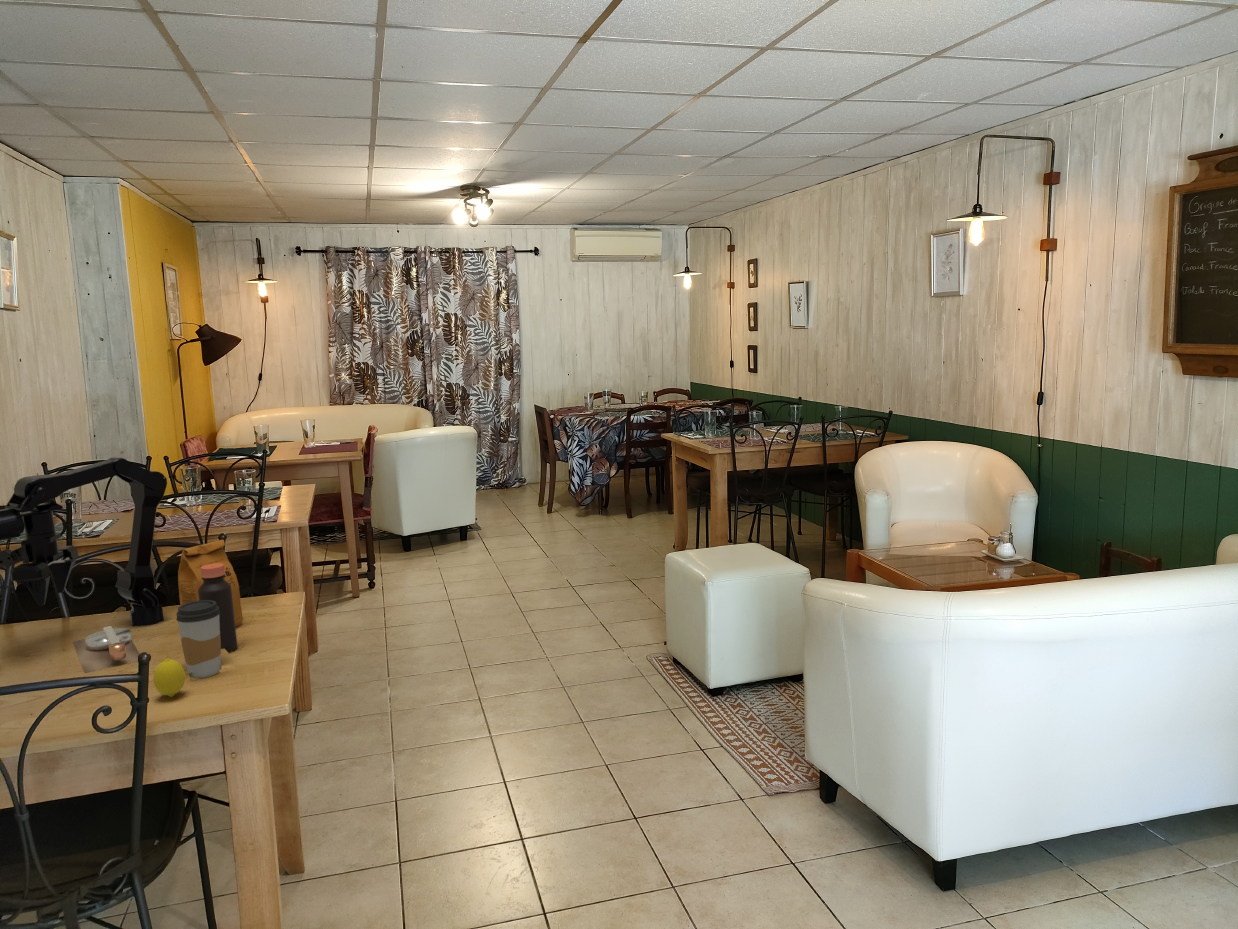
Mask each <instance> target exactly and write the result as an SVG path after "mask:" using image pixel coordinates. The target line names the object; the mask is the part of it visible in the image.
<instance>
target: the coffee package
mask: <svg viewBox="0 0 1238 929" xmlns="http://www.w3.org/2000/svg"><path fill="white" fill-rule="evenodd" d="M225 544H226V543H225V540H224V539H220V540H216V541H211V542H208V543H204V544H199V545H195V546H191V547H188V548H184V549H182V552H181V555H180V562H179V566H178V571H177V582H178V583H177V584H178V592H179V593H178V594H179V604H180V605H179V607H180V606H181V605H183V604H186V603H190V602H194V601H199V595H198V589H199V588H200V586H201V585H202V584H203V580H202V577H201V570H200V567H202V566H204V565H207V564H213V563H222V564H224V568H225V576H224V580H225V581H227V582H228V583H229V584H230V585H231V590H232V600H233V609H234V619H235V628H236V627H239V626H241V625H242V623H243V621H244V616H243V610H242V609H243V608H242V604H241V592H240V584H239V581H238V578H237V574H236V572H235V571H234V567H233V565H232V564H231V561H229V558H228V555H227V553H226V551H225V549H224V547H225Z"/></svg>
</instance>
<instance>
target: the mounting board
mask: <svg viewBox="0 0 1238 929" xmlns="http://www.w3.org/2000/svg"><path fill="white" fill-rule="evenodd" d="M71 642H72V644H73V647H74V649H75V651H76V654H77V657H78V660H79V663H80V664H81V668H82V670H83V672H84V674H86V673H88V674H89V673H92V672H96V671H101V670H105V669H110V668H115V667H119V666H122V665H127V664H131V663H136V662H139V661H138V655H139V654H140V652H139V650H138V648H137V647H136V645H135V643H134V641H133V639H131V641H130V642H129V643H127V644H125V650H126V658H124V659H121V660H116V661H112V660H110V652H109V649H107V650H88V649H87V648H86V641H85V638H82V639H78V640H77V639H76V640H74V641H71ZM140 655H141V654H140Z"/></svg>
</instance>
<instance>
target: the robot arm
mask: <svg viewBox="0 0 1238 929" xmlns="http://www.w3.org/2000/svg"><path fill="white" fill-rule="evenodd" d="M115 476H116V477H118V478H119V479H120V480H121V481H124V482H126V483H127V484H129V486H130V495H131V498H132V501H133V504H134V512H133V522H132V528H131V535H130V536H131V537H130V547H129V553H128V563H127V565H126V566H125V568H124V570H121V569H118V570H117V577H116V578H117V580H116V583H115V585H114V586H115V588H117V592H118V594H119V595H120V596H121V597H122V598H124V599H125V600H126V601H127V603H128V604H129V605H130V604H131V610H130V611H129V617H130V625H131V626H132V627H143V626H144V627H146V626H151V625H155V624H158V623H161V622H163V621H164V618H165V617H164V611H163V604H165V603H166V600H167V599H166V598H167V594H165V593H163V591H160V590H159V589H157V588H156V584H155V583H156V582H155V575H154V572H153V568H152V566H151V559H152V550H153V544H154V541H153V540H154V534H155V525H156V515H157V509H158V506H159V505H160V503H161V502H162V500H163V498H164V496H165V493H166V491H167V490H166V489H167V487H168V479H167V477H166V476H165V475H164V473H162V472H161V471H156V470H149V469H147V468H144V467H143V466H139V465H137V464H135V463H133V462H131V461H129V460H127V459H126V458H122V457H116V456H115V457H114V456H113V457H110V458H108V459H105V460H103V461H99V462H95V463H92V464H88V465H85V466H81V467H77V468H74V469H70V470H66V471H62V472H59V473H53V474H51V473H50V474H40V475H31V476H25V477H21V478H19V479H18V480H17V481H16V483H15V484H14V486H13V487H14V488H13V494H12V495H11V497H9V500H8V501H7V503H6V505H5V507H4V508H3V509H0V542H1V541H6V540H11V539H15V538H19V537H21V534H24V536H25V538H24V539H22V540H21V542H20V546H18V547H16V548H14V549H9V548H5V549H3V550H0V566H3V568H4V569H5V570H7V569H10V568H11V566H14V565H16V564H18V565H17V566H15V567H13V568H12V569H11V570H10V572H9V576H10V581H11V582H15V583H17V584H21V585H24V586H26V588H27V589H28V591H29V592H30V594H31V596H32V597H33V599H34V600H35V602H36V604H37V605H38V607H42V606H45V604H46V600H47V594H48V590H49V584H50V579H51V576H52V579H53V584H54V586H55V590H56V593H58V594H63V593H64V592H65V589H66V586H67V582H69V581H68V580H69V578H70V576H71V575H70V574H71V572H72V570H73V567H74V564H75V563H76V561H77V559H76V558H78V557H79V553H78V548H77V547H75V546H74V545H64V546H63V545H62V546H59V542H58V540H59V539H60V538H61V532H58V533H57V532H56V531H57V530H56V525H55V519H54V512H53V511H61V510H63V509H64V506H63V505H61V504H59V503H57V502H56V501H55V499H56V498H58V497H60V496H61V495H63V494H64V493H66V492H67V491H70V490H72V489H76V488H79V487H82V486H85V485H89V484H92V483H96V482H100V481H103V480H105V479H109V478H113V477H115ZM21 562H22V563H21ZM19 563H20V564H19ZM49 572H50V573H51V574H49Z"/></svg>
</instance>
